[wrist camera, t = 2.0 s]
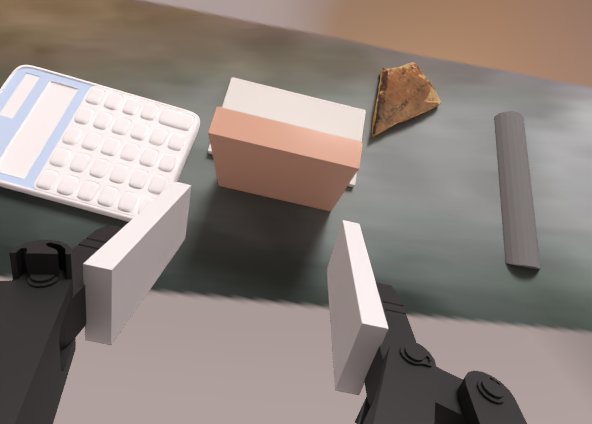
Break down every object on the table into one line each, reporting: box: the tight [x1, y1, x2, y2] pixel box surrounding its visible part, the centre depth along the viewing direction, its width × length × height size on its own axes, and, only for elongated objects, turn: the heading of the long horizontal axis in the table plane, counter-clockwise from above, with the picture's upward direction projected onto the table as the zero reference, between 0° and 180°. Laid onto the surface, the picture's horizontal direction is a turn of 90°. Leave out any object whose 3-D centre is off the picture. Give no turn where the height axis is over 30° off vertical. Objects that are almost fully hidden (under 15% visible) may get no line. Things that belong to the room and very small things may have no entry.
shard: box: [372, 62, 441, 137], centre depth 42 cm, size 11×8×2 cm
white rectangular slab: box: [208, 77, 366, 187], centre depth 39 cm, size 16×10×1 cm, turn 79°
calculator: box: [0, 65, 200, 222], centre depth 35 cm, size 13×20×2 cm, turn 76°
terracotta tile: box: [208, 107, 363, 211], centre depth 32 cm, size 12×3×10 cm, turn 79°
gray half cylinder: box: [494, 112, 541, 269], centre depth 40 cm, size 4×20×2 cm, turn 172°
